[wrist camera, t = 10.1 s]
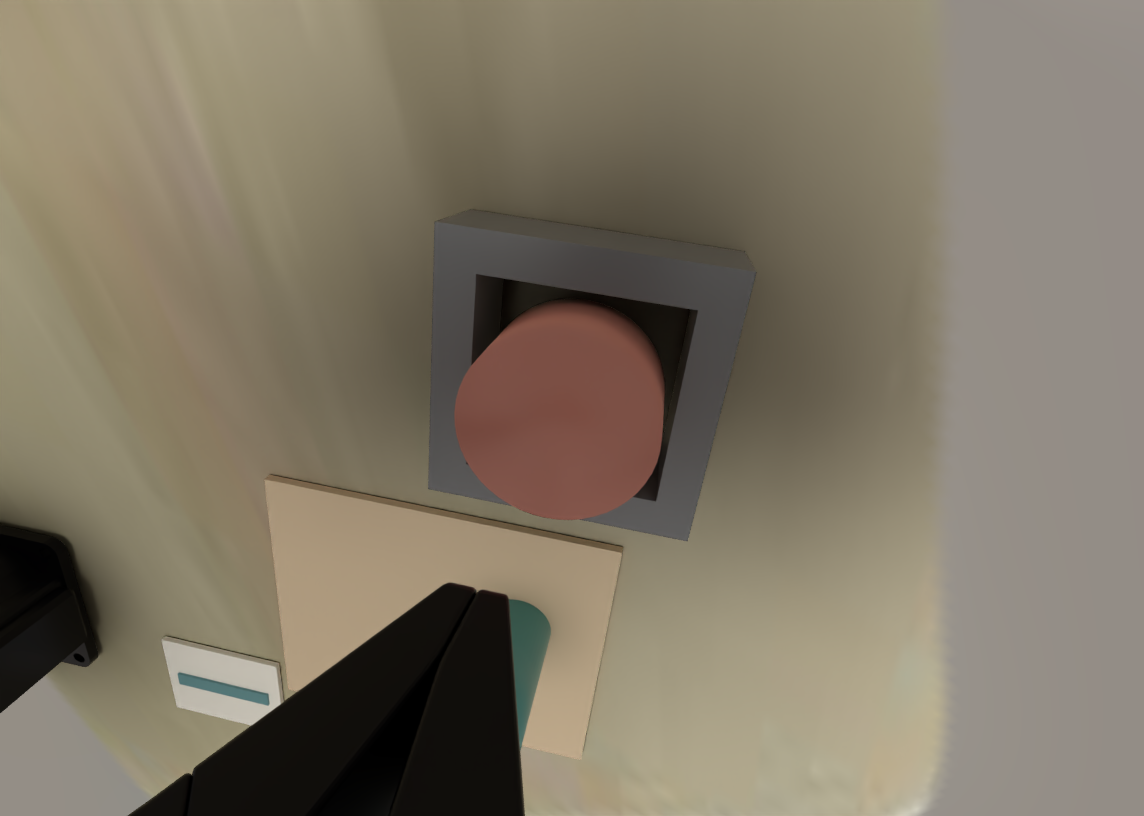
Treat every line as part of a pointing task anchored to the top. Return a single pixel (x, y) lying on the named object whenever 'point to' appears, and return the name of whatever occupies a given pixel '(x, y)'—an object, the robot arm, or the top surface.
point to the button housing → (602, 266)
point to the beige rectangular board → (420, 566)
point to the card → (222, 681)
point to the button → (564, 410)
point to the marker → (527, 655)
